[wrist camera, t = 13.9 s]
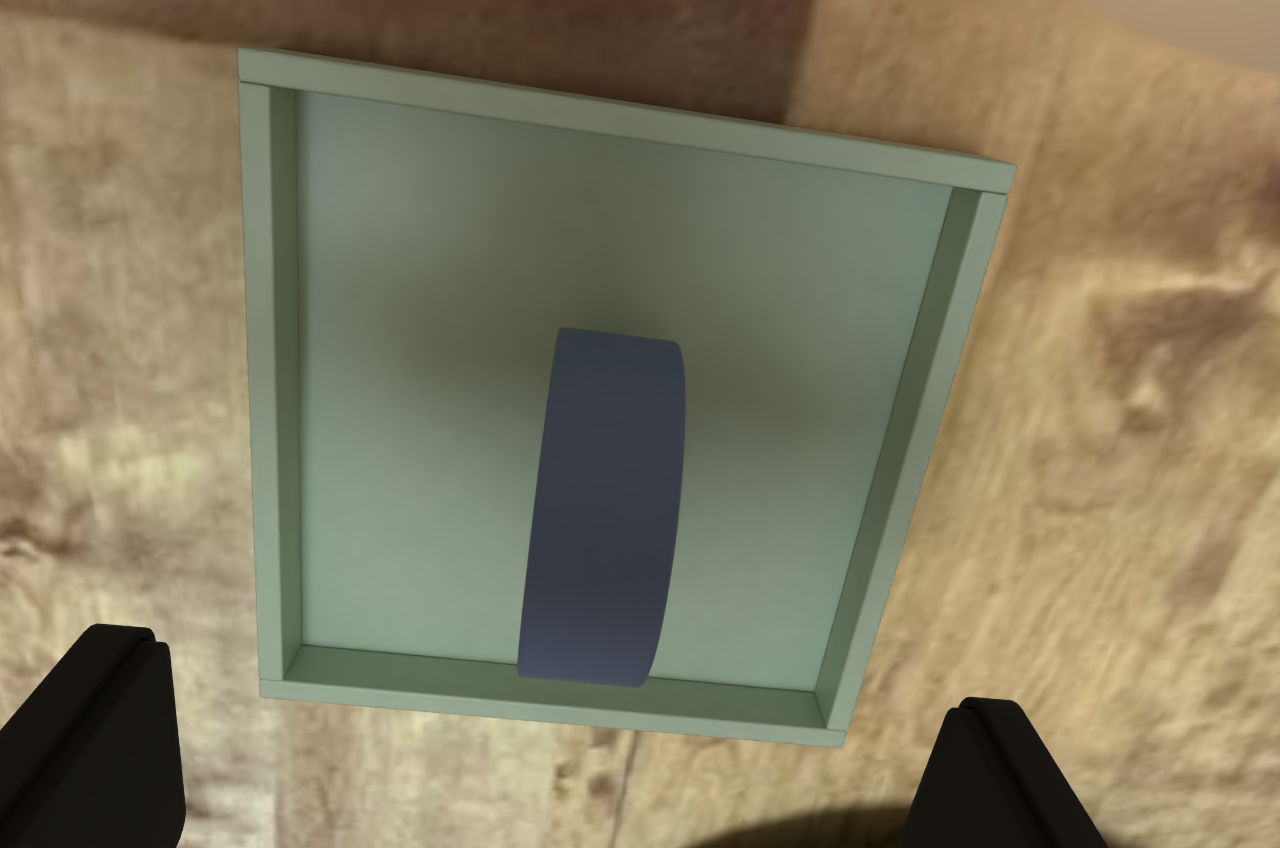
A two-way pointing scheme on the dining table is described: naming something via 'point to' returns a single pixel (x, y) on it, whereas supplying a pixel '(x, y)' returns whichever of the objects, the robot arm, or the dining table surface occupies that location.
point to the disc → (604, 510)
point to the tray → (521, 369)
